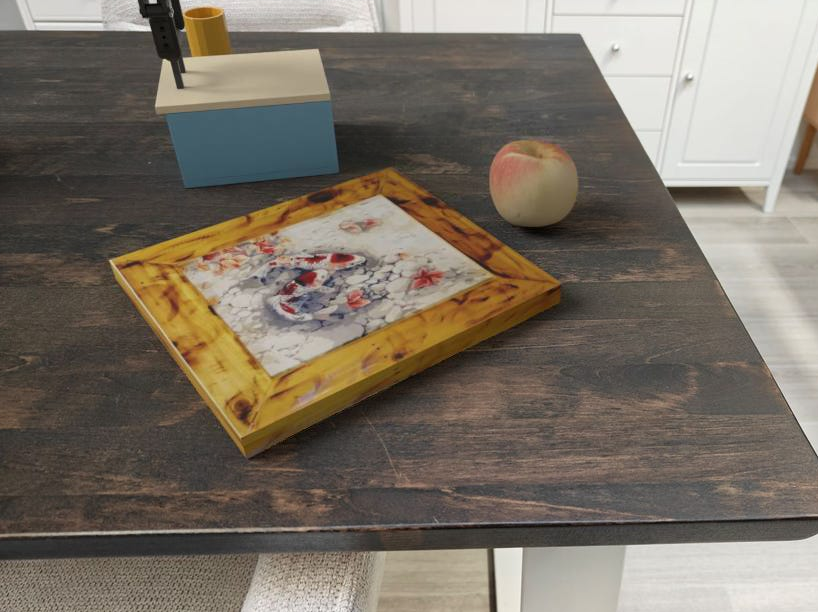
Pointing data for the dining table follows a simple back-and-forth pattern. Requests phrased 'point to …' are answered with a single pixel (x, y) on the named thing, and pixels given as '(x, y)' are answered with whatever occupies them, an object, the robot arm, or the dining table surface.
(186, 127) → the box
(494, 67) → the dining table surface
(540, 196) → the apple
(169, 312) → the picture frame
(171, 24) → the robot arm
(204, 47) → the cup
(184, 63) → the cooler lid
